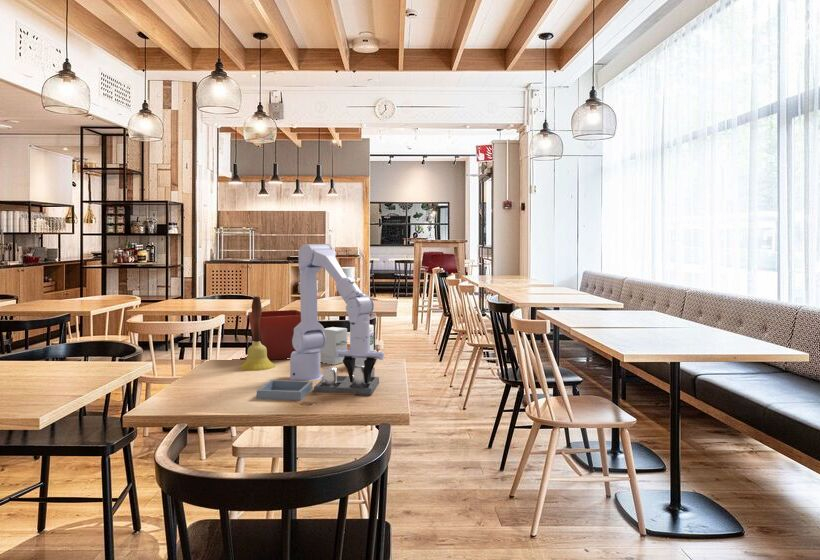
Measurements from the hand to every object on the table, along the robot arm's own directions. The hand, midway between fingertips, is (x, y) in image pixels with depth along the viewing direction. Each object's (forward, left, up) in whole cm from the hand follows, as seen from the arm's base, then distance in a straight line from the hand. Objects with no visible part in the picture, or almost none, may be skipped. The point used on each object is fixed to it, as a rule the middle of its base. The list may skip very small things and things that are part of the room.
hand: (359, 382), depth 180 cm
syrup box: (-6, +38, -3) cm, 38 cm away
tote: (-21, -7, -3) cm, 22 cm away
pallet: (-5, +4, -3) cm, 7 cm away
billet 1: (-9, 0, -3) cm, 9 cm away
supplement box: (-18, +41, -3) cm, 45 cm away
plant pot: (-42, +49, -3) cm, 64 cm away
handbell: (-43, +30, -3) cm, 52 cm away
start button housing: (-3, +17, -3) cm, 17 cm away
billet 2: (0, 0, -2) cm, 2 cm away
